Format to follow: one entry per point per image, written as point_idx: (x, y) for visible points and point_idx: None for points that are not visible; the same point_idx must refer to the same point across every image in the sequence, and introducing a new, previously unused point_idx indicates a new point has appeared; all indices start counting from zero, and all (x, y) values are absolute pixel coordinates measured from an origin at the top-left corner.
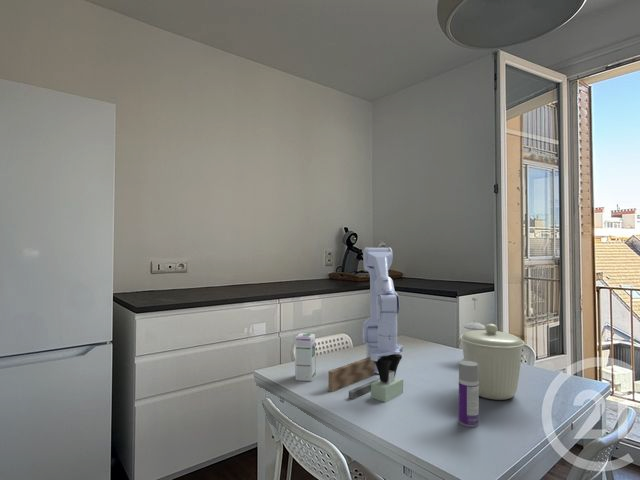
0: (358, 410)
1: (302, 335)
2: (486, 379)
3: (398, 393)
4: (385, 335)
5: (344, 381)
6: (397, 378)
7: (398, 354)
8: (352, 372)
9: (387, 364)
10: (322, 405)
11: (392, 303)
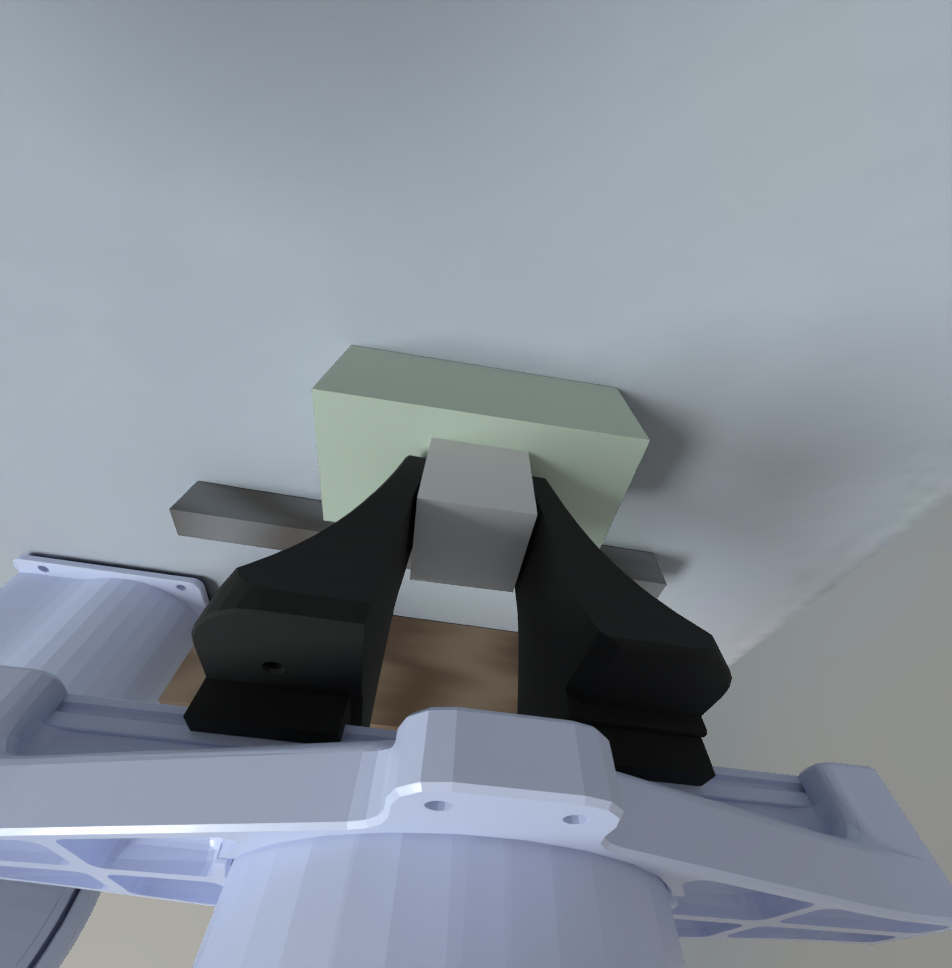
0: (812, 475)
1: None
2: None
3: (427, 361)
4: None
5: (504, 657)
6: (337, 441)
7: (217, 663)
8: (431, 681)
9: (686, 622)
10: (777, 618)
11: None
